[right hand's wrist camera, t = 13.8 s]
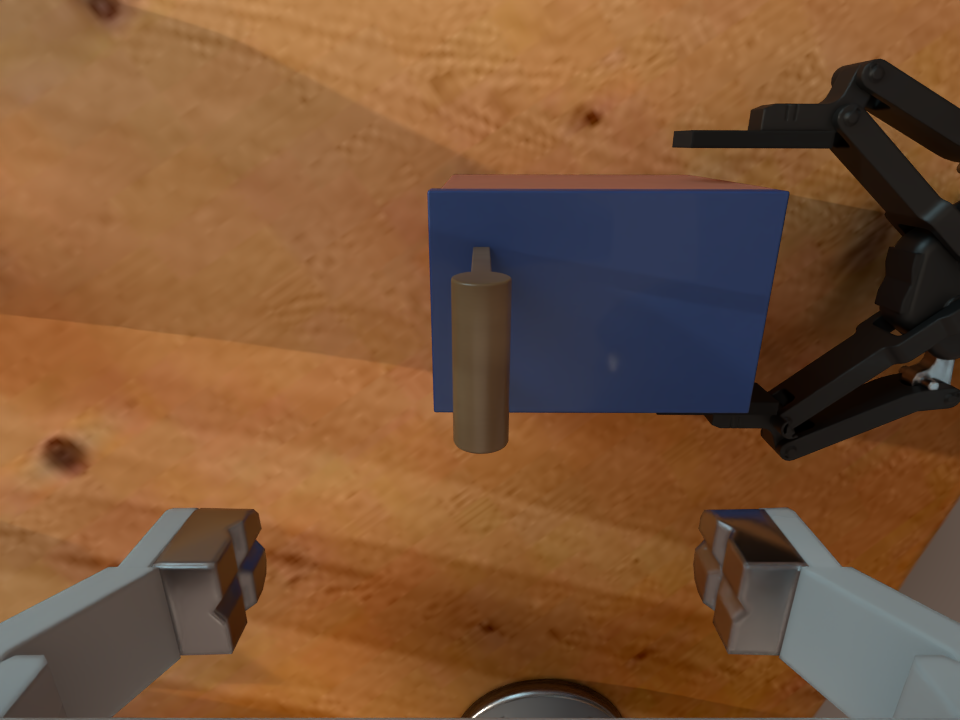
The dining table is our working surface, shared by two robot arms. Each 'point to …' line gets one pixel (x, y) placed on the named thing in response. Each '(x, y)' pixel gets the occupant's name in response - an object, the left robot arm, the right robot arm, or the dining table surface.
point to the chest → (590, 182)
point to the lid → (597, 301)
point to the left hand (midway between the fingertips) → (664, 279)
